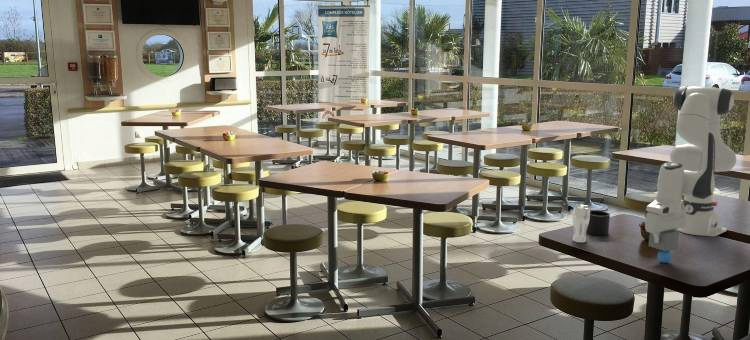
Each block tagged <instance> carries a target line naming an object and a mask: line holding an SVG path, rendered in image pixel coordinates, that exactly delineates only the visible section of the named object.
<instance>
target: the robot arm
mask: <svg viewBox="0 0 750 340" xmlns="http://www.w3.org/2000/svg"><path fill="white" fill-rule="evenodd" d="M672 98H673V100H672V101H673V106H674V108H675V109H676V110H677V111H679V113H678V117H677V121H676V132H677V134H678V136H679V137H680V138H681V139H682V140H683V141H686V142H685V143H687V144H685V143H684V144H677V145H675V146H674V147H673V148H672V150H671V151H670V157H669V158H670V161H671V162H665V163H663V164H661V165H660V169H659V173H658V178H657V184H656V185H657V193H656V196H655V199H654V200H653V201H652V202H651V203H649V204H648V205H646V208H645V209H646V211H647V213H646V214H645V223H644V229H645V231H646V232H647V233H649V234H650V233H653V236H654V242H655V243H660V242H661V238H659V235H660V232H663V231H667V230H675V231H678V232H680V233H684V234H687V235H692V236H693V235H694V236H703V237H704V236H706V237H717V236H719V235H721V234H723V233H726V232H727V228H726V227H725V226H722V222H723V221H722V220H723V219H722V217H721V216H720V215H719V214H718V213H717V212H716V211H715V209H714V207H717V206H718V201H714V200H713V195H714V192H715V189H716V181H715V173H718V172H720V173H721V172H729V171H731V170H733V168H734V167H735V166H736V163H737V155H736V153H735V151H734V150H733V149H731V148H730V147H729V146H728V145H727V144H725V142H724V141H723V139H722V136H721V128H720V127H721V116H722V115H727V114H728V113H730V112H731V110H732V109H733V106H734V103H735V98H734V93H733V92H732V91H731V89H726V88H718V87H714V86H713V87H712V86H697V85H696V86H689V85H684V86H679V87H678V88H677V89H676V91H675V93H674V94H673V97H672ZM682 196H684V198H683V199H682Z"/></svg>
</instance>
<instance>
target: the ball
mask: <svg viewBox="0 0 750 340" xmlns="http://www.w3.org/2000/svg"><path fill="white" fill-rule="evenodd" d="M672 258H673V256H672V252H671V251H670V250H668V251H663V250H659V251H658V253H657V260H659V262H660V263H663V264H664V263H665V264H666V263H670V261H671V260H672Z"/></svg>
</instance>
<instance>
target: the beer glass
mask: <svg viewBox="0 0 750 340" xmlns="http://www.w3.org/2000/svg"><path fill="white" fill-rule="evenodd" d="M572 211H573V212H572V227H573V235H572V239H571V241H572V242H575V243H578V244H584V243H585V242H586V243H587V242H588V237H587V236H588V235H587V234H588V233H587V229H588V225H589V221H590V211H591V206H589V205H586V204H575V205H573V210H572Z"/></svg>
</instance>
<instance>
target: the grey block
mask: <svg viewBox="0 0 750 340" xmlns="http://www.w3.org/2000/svg"><path fill="white" fill-rule="evenodd" d="M679 233H680V231H679V230H678V231H675V230H667V231H663V232H660V235H659V238H661V242H660V243H655V242H654V236H653V233H650V232H649V237H648V245H647V246H648V247H651V248H653V249H657V250H659V251H661V250H663V251H671V250H676V249H678V244H679V236H680V235H679Z"/></svg>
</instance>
